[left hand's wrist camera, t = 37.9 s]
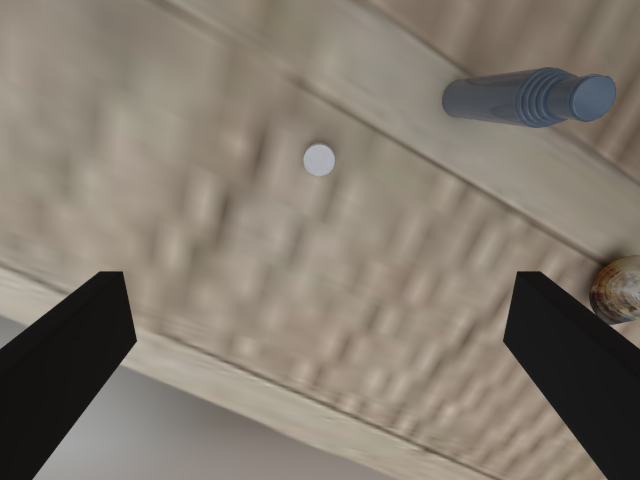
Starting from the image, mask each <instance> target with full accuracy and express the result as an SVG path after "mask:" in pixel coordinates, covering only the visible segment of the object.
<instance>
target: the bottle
mask: <svg viewBox="0 0 640 480" xmlns="http://www.w3.org/2000/svg"><path fill="white" fill-rule="evenodd" d="M615 96H616V87H615V83H614V82H613V80H612V79H611V78H610V77H609V76H601V75H598V74H591V75H587V76H584V77H577V76H575V75H573V74H571V73H568V72H566V71H564V70H561V69H558V68H550V67H547V68H539V69H532V70H525V71H518V72H510V73H503V74H496V75H489V76H482V77H475V78H468V79H461V80H457V81H454V82H453V83H451V84H450V85H449V86H448V87H447V88H446V90H445V92H444V94H443V99H442V103H443V107H444V110H445V111H446V112H447V113H448V114H449V115H450V116H452V117H457V118H464V119H472V120H479V121H487V122H494V123H502V124H509V125H517V126H524V127H532V128H541V127H548V126H551V125H554V124H557V123H559V122H562V121H565V120H568V119H576V120H579V121H584V122H589V121H593V120H596V119H598V118H600V117H601V116H603V115H604V114H605V113H606V112H607V111H608V110H609V109H610V108H611V106H612V105H613V103H614V100H615Z"/></svg>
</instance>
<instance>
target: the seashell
mask: <svg viewBox="0 0 640 480" xmlns="http://www.w3.org/2000/svg"><path fill="white" fill-rule="evenodd" d="M589 299H590V304H591V307H592V309H593V311H594V312H595V314H596V315H597V316H598V317H599V318H600V319H602V320H603V321H604V322H606V323H607V324H608V325H613V324H619V323H623V322H628V321H633V320H636V319H638V318H640V255H634V256H628V257H624V258H621V259H618V260H616V261H614V262H612V263H611V264H609V265H607V266H606V267H605V268H604V269H603V270H601V271H600V272H599V274H598V275H597V276H596V278H595V279H594V281H593V283H592V286H591V289H590V294H589Z"/></svg>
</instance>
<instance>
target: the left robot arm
mask: <svg viewBox="0 0 640 480" xmlns="http://www.w3.org/2000/svg"><path fill="white" fill-rule="evenodd" d="M136 342H137V339H136V334H135V329H134V324H133V319H132V314H131V309H130V304H129V300H128V295H127V290H126V285H125V280H124V275H123V271H100V272H98V273H97V274H96V275H95V276H93V277H92V278H91V279H89V280H88V281H87V282H86V283H84V284H83V285H82V286H81V287H79V288H78V289H77V290H75V291H74V292H73V293H72V294H70V295H69V296H68V297H66V298H65V299H64V300H63V301H61V302H60V303H59V304H57V305H56V306H55V307H54V308H52V309H51V310H50V311H49V312H47V313H46V314H45V315H43V316H42V317H41V318H40V319H38V320H37V321H36V322H34V323H33V324H32V325H31V326H29V327H28V328H27V329H26V330H24V331H23V332H22V333H20V334H19V335H18V336H17V337H15V338H14V339H13V340H12V341H10V342H9V343H8V344H6V345H5V346H4V347H2V348H1V349H0V480H32V479H33V478H34V477H35V475H36V474H37V473H38V471H39V470H40V469H41V467H42V466H43V465H44V463H45V462H46V461H47V459H48V458H49V457H50V456H51V454H52V453H53V451H54V450H55V449H56V448H57V446H58V445H59V444H60V442H61V441H62V440H63V438H64V437H65V436H66V434H67V433H68V432H69V430H70V429H71V428H72V426H73V425H74V424H75V422H76V421H77V420H78V418H79V417H80V416H81V415H82V413H83V412H84V410H85V409H86V408H87V407H88V405H89V404H90V403H91V401H92V400H93V399H94V397H95V396H96V395H97V393H98V392H99V391H100V389H101V388H102V387H103V385H104V384H105V383H106V381H107V380H108V379H109V378H110V376H111V375H112V373H113V372H114V371H115V370H116V368H117V367H118V366H119V364H120V363H121V362H122V360H123V359H124V358H125V356H126V355H127V354H128V352H129V351H130V350H131V348H132V347H133V346H134V344H135V343H136ZM503 342H504V343H505V344H506V346H507V347H508V348H509V350H510V351H511V352H512V354H513V355H514V356H515V358H516V359H517V360H518V362H519V363H520V364H521V366H522V367H523V368H524V370H525V371H526V372H527V374H528V375H529V376H530V378H531V379H532V380H533V382H534V383H535V384H536V385H537V387H538V388H539V389H540V391H541V392H542V393H543V395H544V396H545V397H546V399H547V400H548V401H549V403H550V404H551V405H552V407H553V408H554V409H555V411H556V412H557V413H558V415H559V416H560V417H561V419H562V420H563V421H564V422H565V424H566V425H567V426H568V428H569V429H570V430H571V432H572V433H573V434H574V436H575V437H576V438H577V440H578V441H579V442H580V444H581V445H582V446H583V448H584V449H585V450H586V452H587V453H588V454H589V456H590V457H591V458H592V459H593V461H594V462H595V463H596V465H597V466H598V467H599V469H600V470H601V471H602V473H603V474H604V475H605V477H606V478H607V479H608V480H640V349H639V348H638V347H636V346H635V345H634V344H632V343H631V342H630V341H629V340H627V339H626V338H625V337H623V336H622V335H621V334H620V333H618V332H617V331H616V330H615V329H613V328H612V327H611V326H609V325H608V324H607V323H606V322H604V321H603V320H602V319H600V318H599V317H598V316H597V315H595V314H594V313H593V312H591V311H590V310H589V309H588V308H586V307H585V306H584V305H583V304H581V303H580V302H579V301H577V300H576V299H575V298H574V297H572V296H571V295H570V294H568V293H567V292H566V291H565V290H563V289H562V288H561V287H559V286H558V285H557V284H556V283H554V282H553V281H552V280H551V279H549V278H548V277H547V276H545V275H544V274H543V273H542V272H540V271H517V275H516V280H515V285H514V290H513V295H512V300H511V304H510V309H509V314H508V319H507V324H506V329H505V334H504V339H503Z"/></svg>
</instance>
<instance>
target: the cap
mask: <svg viewBox="0 0 640 480" xmlns="http://www.w3.org/2000/svg"><path fill="white" fill-rule="evenodd" d="M303 161H304V166H305V168H306V170H307V171H308V172H309V173H311V174H312V175H315V176H324V175H326V174H328V173H329V172H330V171H331V170H332V169H333V167H334V164H335V156H334V153H333V150H332V149H331V147H330V146H329V145H327V144H325V143H322V142H316V143H313V144H311V145H310V146H309V147H308V148H307V149H306V151H305V154H304V160H303Z"/></svg>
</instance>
